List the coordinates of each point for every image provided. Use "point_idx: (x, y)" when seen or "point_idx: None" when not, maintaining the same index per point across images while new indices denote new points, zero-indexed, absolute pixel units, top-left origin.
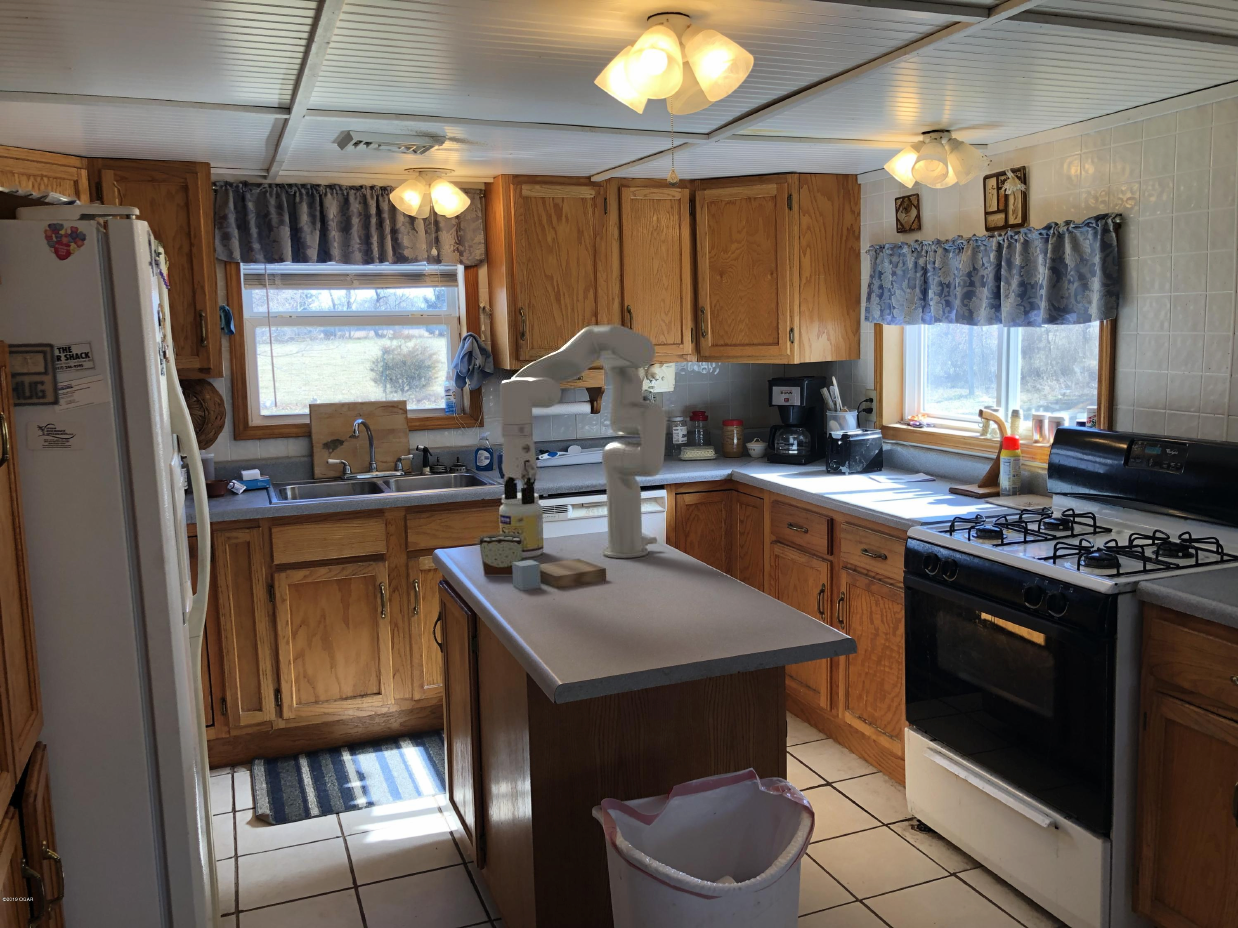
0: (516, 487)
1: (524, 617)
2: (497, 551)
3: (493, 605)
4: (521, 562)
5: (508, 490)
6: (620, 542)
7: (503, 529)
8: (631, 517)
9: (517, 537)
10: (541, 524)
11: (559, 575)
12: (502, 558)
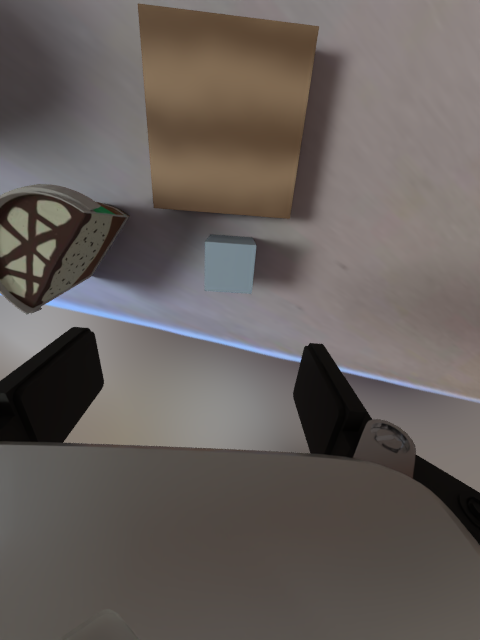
0: (47, 373)
1: (383, 351)
2: (73, 265)
3: (297, 354)
4: (216, 273)
5: (72, 410)
6: None
7: None
8: None
9: (29, 196)
10: None
11: (288, 207)
12: (89, 252)
